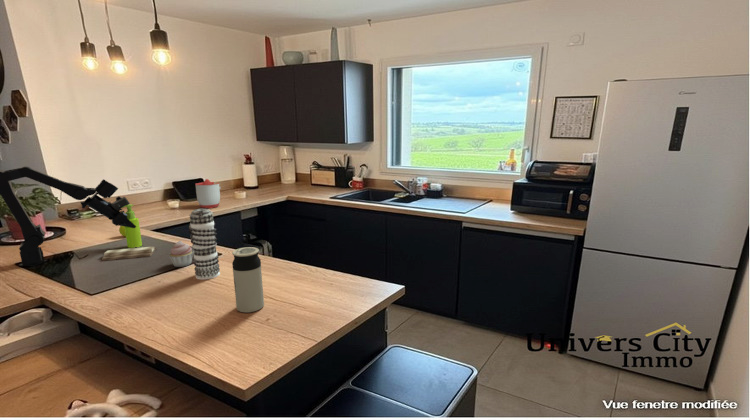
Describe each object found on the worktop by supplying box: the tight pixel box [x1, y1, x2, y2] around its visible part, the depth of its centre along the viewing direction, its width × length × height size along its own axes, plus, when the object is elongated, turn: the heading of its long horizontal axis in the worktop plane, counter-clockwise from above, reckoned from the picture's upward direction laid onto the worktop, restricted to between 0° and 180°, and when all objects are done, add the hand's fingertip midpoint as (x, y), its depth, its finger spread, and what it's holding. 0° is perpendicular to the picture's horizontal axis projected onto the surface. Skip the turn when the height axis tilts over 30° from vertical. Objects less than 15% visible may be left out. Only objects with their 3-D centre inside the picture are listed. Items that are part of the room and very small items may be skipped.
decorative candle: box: [188, 208, 221, 281], centre depth 138 cm, size 9×9×25 cm
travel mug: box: [231, 246, 265, 314], centre depth 113 cm, size 8×8×18 cm
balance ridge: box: [101, 246, 157, 262], centre depth 165 cm, size 18×10×2 cm, turn 107°
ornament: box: [118, 226, 126, 238], centre depth 194 cm, size 7×7×10 cm
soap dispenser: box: [121, 203, 143, 249], centre depth 175 cm, size 6×7×20 cm
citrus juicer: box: [194, 178, 222, 209], centre depth 266 cm, size 16×17×20 cm
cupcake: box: [168, 240, 194, 268], centre depth 151 cm, size 9×9×10 cm
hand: (134, 226), depth 176 cm, fingers closed on soap dispenser, 6 cm apart
